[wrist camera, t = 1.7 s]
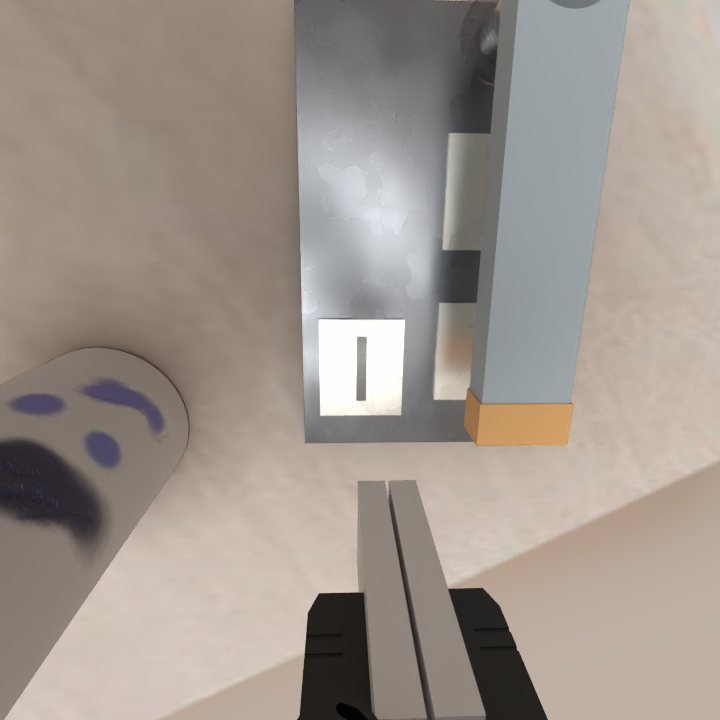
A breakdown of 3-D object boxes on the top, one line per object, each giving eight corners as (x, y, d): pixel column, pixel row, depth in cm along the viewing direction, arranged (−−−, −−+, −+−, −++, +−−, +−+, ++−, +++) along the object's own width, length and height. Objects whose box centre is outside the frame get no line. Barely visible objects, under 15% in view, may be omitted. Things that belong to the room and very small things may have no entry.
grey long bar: (504, -81, 17) (527, -123, 15) (613, -76, 17) (651, -118, 15) (464, 425, 23) (476, 445, 21) (546, 425, 23) (567, 444, 21)
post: (457, -4, 24) (500, -89, 17) (540, -1, 24) (613, -84, 18) (451, 91, 25) (489, 45, 19) (531, 94, 25) (595, 48, 19)
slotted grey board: (296, 7, 24) (293, -9, 22) (581, 16, 24) (598, 1, 23) (306, 434, 30) (304, 446, 29) (530, 432, 31) (540, 443, 29)
